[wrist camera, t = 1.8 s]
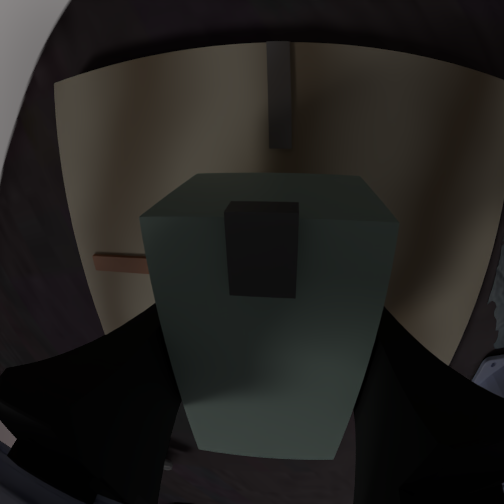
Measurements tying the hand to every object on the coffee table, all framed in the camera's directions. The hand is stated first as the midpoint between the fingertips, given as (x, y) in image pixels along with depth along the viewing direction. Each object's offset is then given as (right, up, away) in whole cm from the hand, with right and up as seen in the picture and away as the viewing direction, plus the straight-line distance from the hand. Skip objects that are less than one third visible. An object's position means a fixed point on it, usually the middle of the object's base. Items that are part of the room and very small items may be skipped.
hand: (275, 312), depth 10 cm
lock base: (+1, +2, +4) cm, 4 cm away
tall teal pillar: (0, 0, +1) cm, 1 cm away
